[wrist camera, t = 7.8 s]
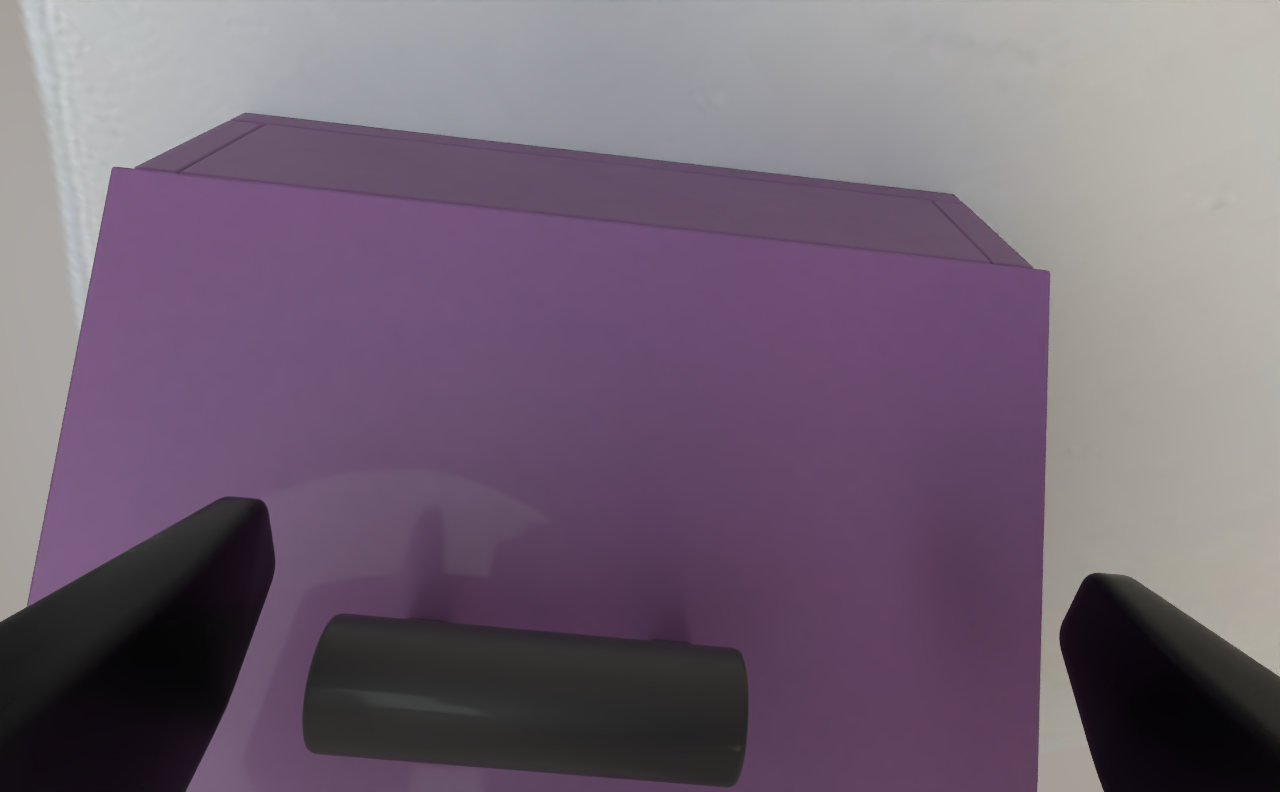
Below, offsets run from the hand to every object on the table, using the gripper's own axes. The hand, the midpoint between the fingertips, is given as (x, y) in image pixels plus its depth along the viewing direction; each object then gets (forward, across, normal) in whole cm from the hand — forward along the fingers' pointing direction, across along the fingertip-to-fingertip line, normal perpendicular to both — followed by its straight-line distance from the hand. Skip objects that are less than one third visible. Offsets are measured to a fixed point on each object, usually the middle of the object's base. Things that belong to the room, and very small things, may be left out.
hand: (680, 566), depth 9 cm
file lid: (+3, +1, +5) cm, 6 cm away
